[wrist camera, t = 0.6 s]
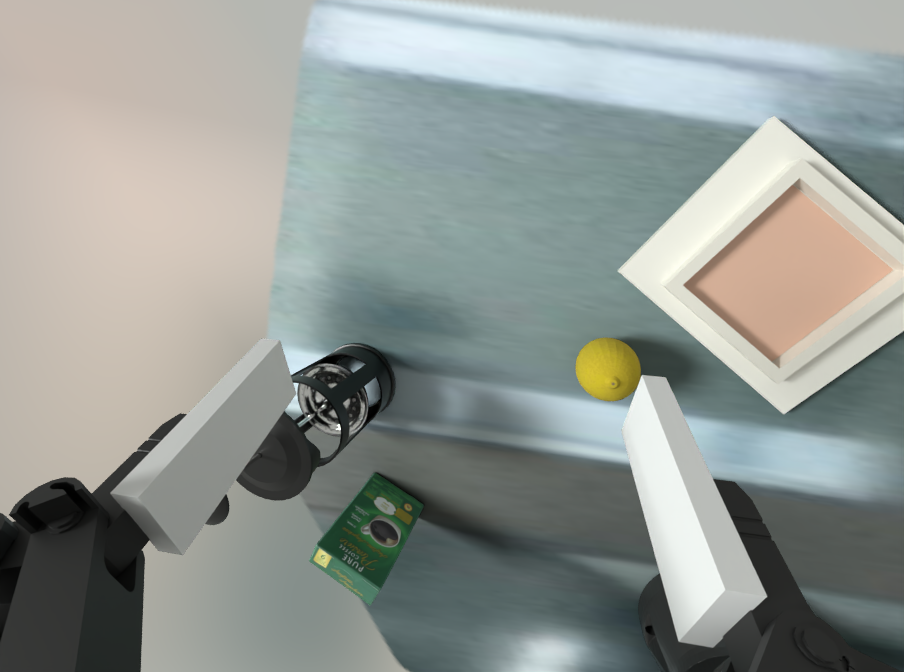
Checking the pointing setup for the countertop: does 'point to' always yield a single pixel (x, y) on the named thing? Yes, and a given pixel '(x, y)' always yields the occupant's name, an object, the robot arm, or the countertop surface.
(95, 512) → the robot arm
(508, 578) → the countertop surface
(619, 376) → the lemon
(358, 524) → the coffee box
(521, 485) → the countertop surface
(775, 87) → the countertop surface
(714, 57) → the countertop surface
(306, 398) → the french press
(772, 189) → the tray
